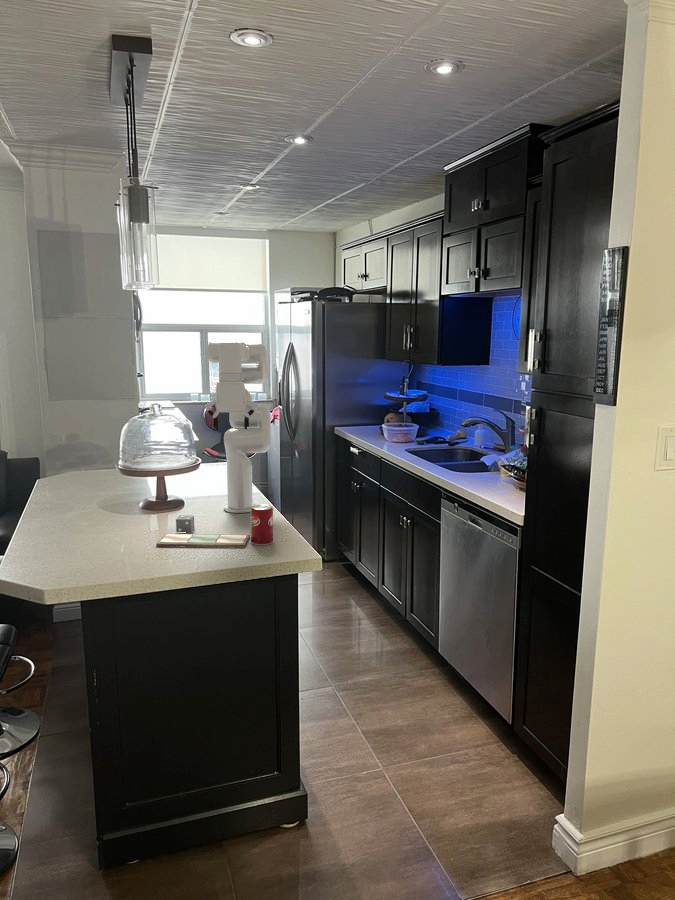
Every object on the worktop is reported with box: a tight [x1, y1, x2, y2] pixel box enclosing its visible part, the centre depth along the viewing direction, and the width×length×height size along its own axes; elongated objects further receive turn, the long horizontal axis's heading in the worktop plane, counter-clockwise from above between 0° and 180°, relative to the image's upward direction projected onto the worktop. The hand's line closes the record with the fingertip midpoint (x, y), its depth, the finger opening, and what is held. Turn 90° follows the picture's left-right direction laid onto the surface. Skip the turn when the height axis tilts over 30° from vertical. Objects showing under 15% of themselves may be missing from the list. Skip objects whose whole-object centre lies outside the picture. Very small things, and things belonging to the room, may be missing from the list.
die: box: [175, 514, 195, 534], centre depth 229 cm, size 5×5×5 cm
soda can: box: [250, 504, 275, 547], centre depth 216 cm, size 7×7×12 cm
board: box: [155, 533, 251, 549], centre depth 217 cm, size 11×28×1 cm, turn 89°
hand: (231, 429), depth 226 cm, fingers open, 9 cm apart
